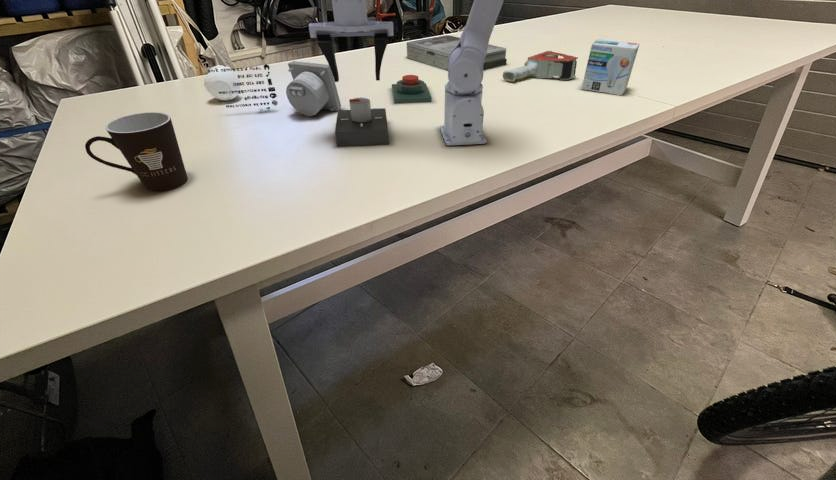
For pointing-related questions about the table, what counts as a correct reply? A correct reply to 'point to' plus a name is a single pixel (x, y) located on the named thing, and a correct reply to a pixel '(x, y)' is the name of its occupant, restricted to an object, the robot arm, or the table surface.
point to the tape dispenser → (545, 67)
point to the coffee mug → (146, 149)
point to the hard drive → (441, 47)
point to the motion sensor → (222, 83)
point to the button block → (411, 93)
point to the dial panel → (361, 129)
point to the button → (410, 80)
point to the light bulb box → (609, 66)
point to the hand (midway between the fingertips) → (357, 79)
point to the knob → (360, 109)
